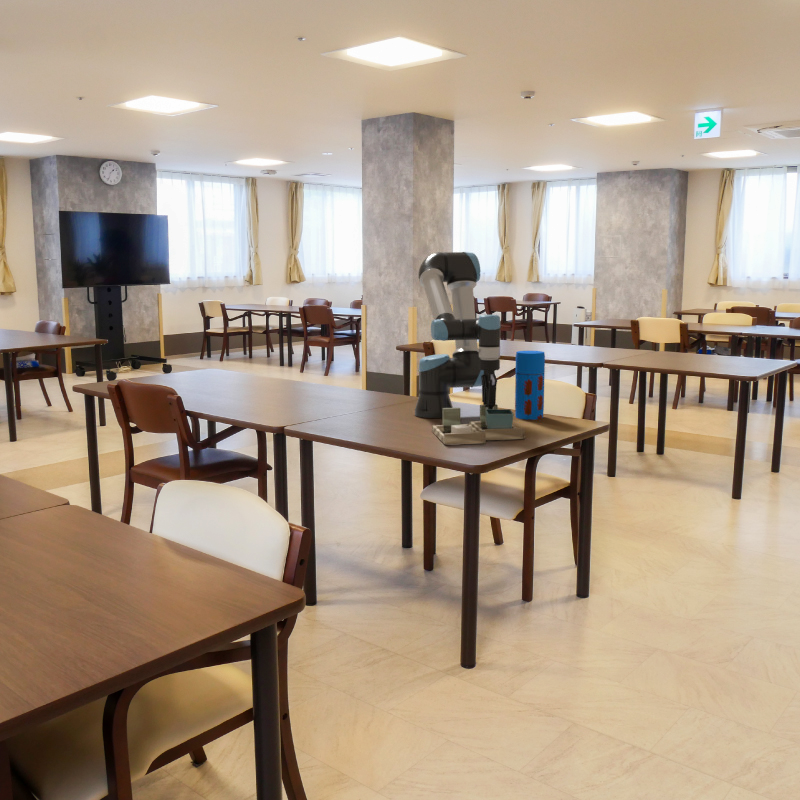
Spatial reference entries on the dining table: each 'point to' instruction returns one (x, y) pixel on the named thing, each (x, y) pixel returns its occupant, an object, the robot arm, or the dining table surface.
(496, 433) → the oak sled
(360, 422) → the dining table surface
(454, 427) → the cream cube
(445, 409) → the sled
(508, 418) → the flower pot
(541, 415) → the thermos
